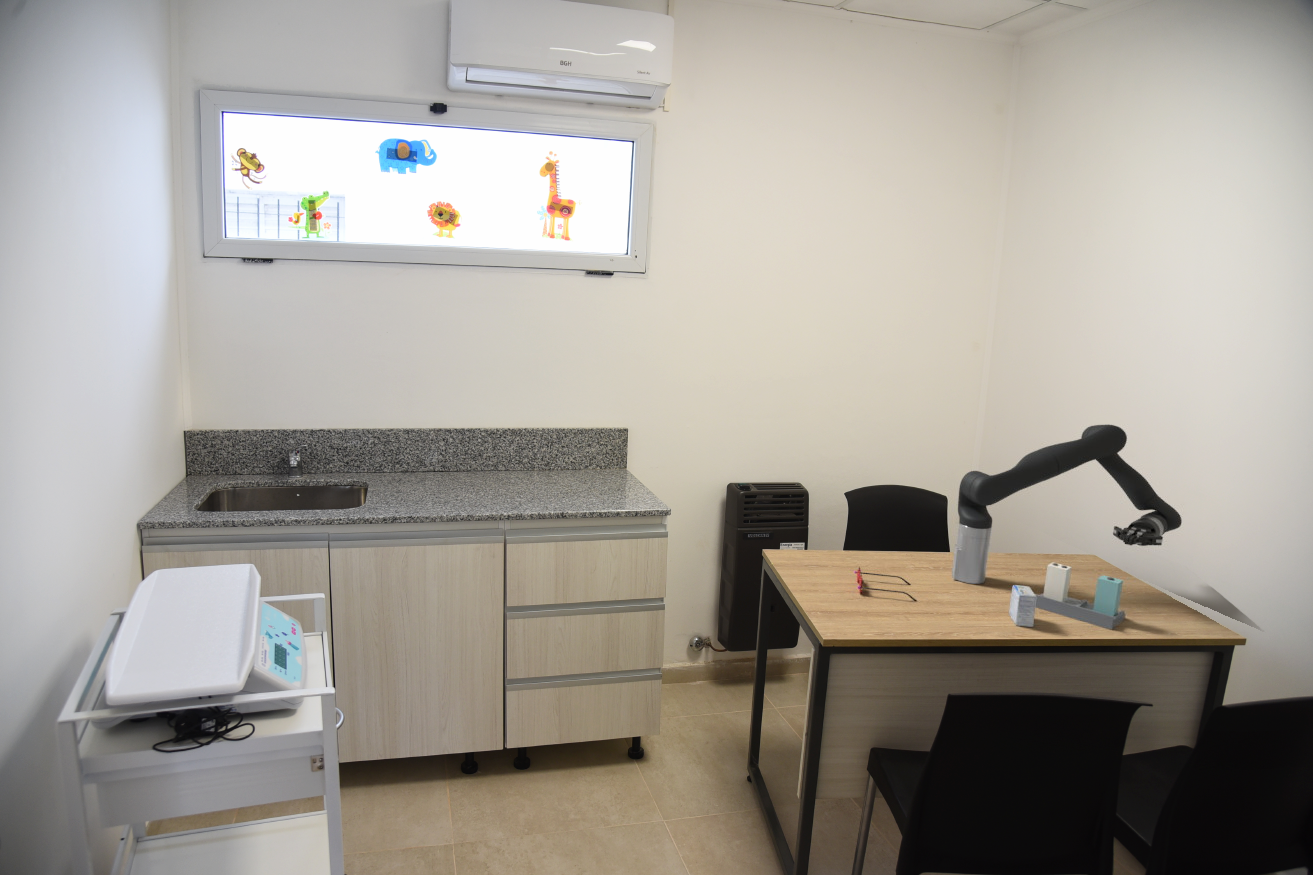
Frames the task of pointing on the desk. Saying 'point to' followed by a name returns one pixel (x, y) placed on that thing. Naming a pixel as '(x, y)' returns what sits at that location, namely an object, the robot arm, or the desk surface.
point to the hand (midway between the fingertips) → (1128, 541)
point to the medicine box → (1022, 606)
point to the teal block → (1108, 595)
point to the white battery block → (1057, 582)
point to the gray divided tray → (1079, 611)
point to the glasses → (859, 577)
